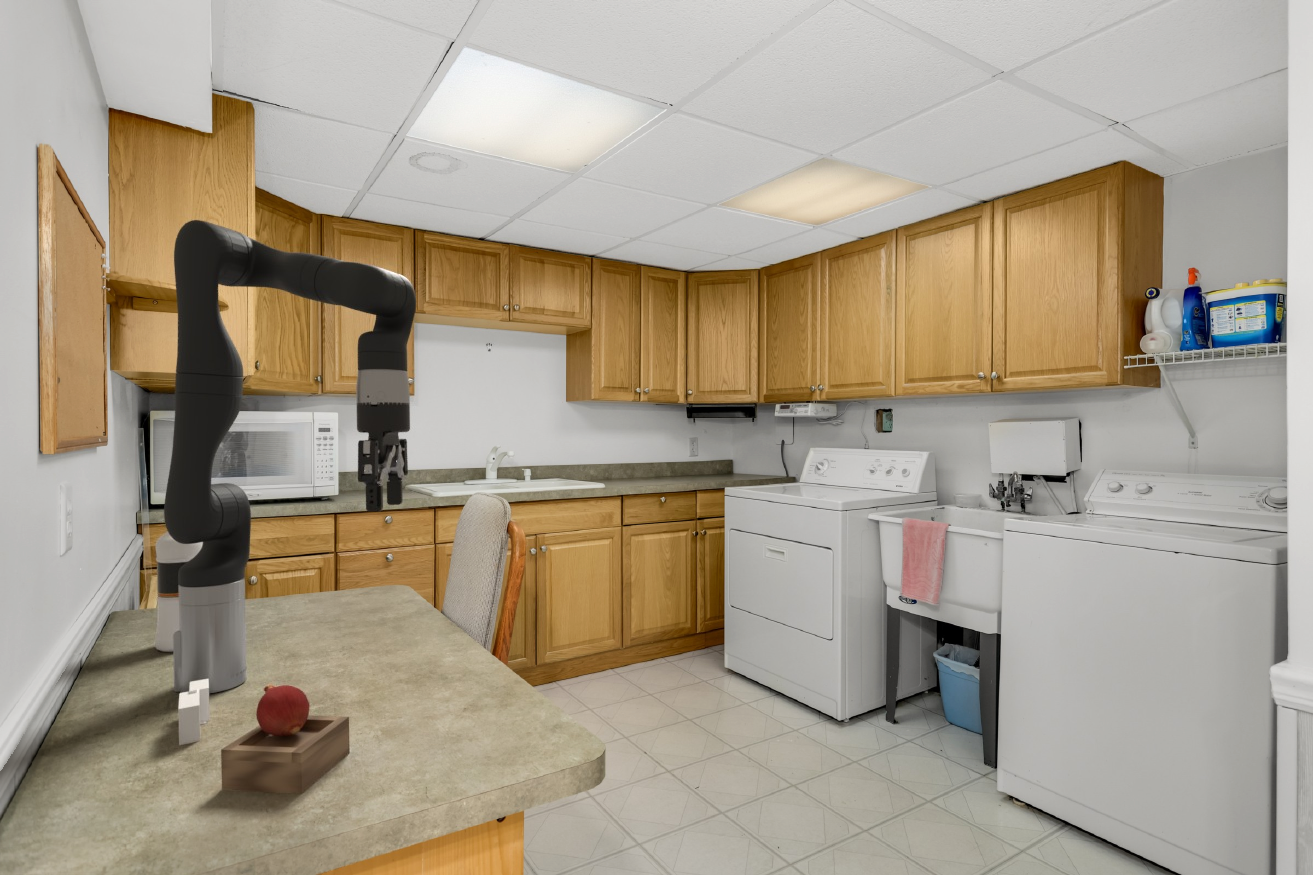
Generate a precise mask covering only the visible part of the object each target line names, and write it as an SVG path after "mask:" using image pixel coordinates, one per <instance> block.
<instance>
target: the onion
mask: <svg viewBox="0 0 1313 875" xmlns="http://www.w3.org/2000/svg"><path fill="white" fill-rule="evenodd" d="M263 691H264V694H263V695H261V698H260V699H259V701H258V704H257V708H256V714H255V715H256V720H257V722H258V726H259V725H260V727H261V729H262V730H263V731H264V732H265V733H268V734H271V735H274V736H288V735H292V734H296V733H298V732H299V731H300V729H301V728H302V727H303V725H304V724H305V722H306V720H307V718H308V715H310V714H309V713H310V706H311V705H310V701H309V700H308V696H307V694H305V692H304V691H303V690H301V689H300V688H298V687H295V686H293V685H290V684H289V685H288V684H284V685H278V686H274V684H267V685H265V687H264V688H263Z"/></svg>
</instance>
